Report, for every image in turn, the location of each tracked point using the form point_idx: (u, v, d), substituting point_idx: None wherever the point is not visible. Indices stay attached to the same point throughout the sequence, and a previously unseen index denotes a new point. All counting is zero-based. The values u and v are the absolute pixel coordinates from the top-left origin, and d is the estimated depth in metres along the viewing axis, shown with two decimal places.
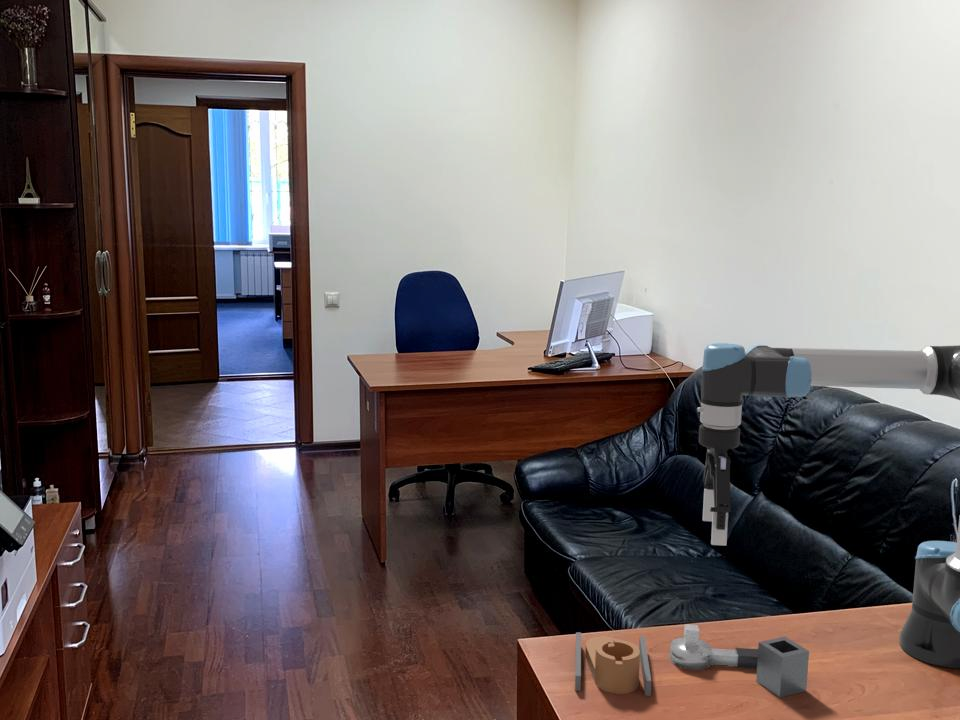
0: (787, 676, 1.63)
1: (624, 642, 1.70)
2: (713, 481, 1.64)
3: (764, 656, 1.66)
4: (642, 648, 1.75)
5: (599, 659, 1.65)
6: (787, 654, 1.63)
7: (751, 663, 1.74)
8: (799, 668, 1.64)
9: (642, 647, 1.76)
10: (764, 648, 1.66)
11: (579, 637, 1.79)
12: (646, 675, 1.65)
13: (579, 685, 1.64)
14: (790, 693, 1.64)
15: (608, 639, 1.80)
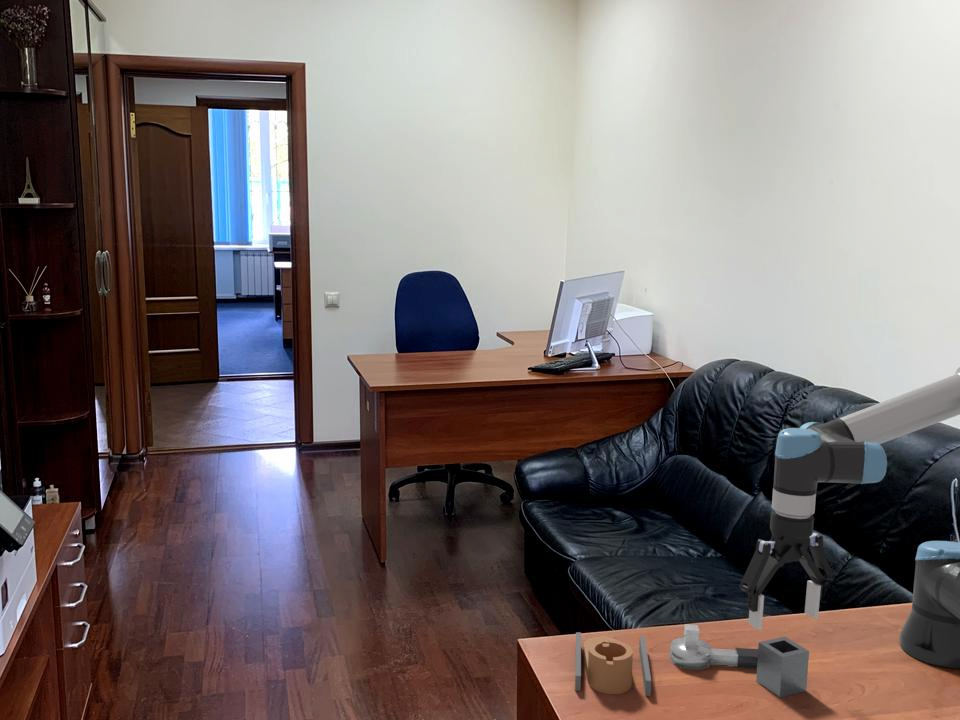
0: (787, 676, 1.63)
1: (619, 642, 1.70)
2: (766, 564, 1.63)
3: (764, 656, 1.66)
4: (642, 648, 1.75)
5: (590, 658, 1.66)
6: (787, 654, 1.63)
7: (751, 663, 1.74)
8: (799, 668, 1.64)
9: (642, 647, 1.76)
10: (764, 648, 1.66)
11: (579, 637, 1.79)
12: (646, 675, 1.65)
13: (579, 685, 1.64)
14: (790, 693, 1.64)
15: (607, 639, 1.80)
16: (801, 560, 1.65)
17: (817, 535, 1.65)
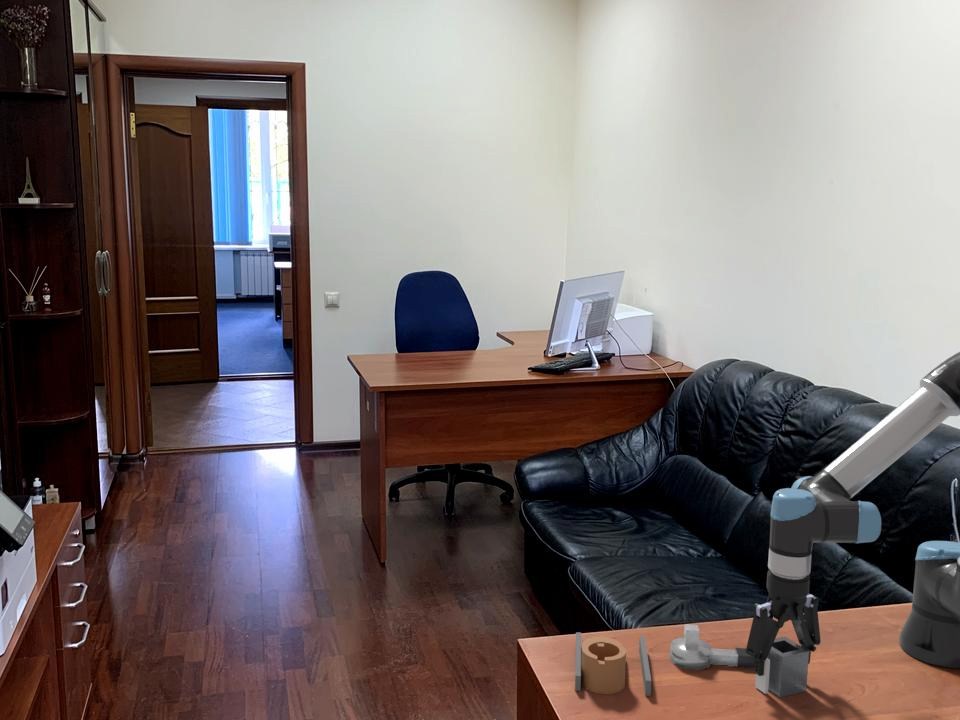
0: (787, 676, 1.63)
1: (614, 643, 1.69)
2: None
3: None
4: (642, 648, 1.75)
5: (583, 657, 1.66)
6: (787, 654, 1.63)
7: (751, 663, 1.74)
8: (799, 668, 1.64)
9: (642, 647, 1.76)
10: None
11: (579, 637, 1.79)
12: (646, 675, 1.65)
13: (579, 685, 1.64)
14: (790, 693, 1.64)
15: (607, 640, 1.80)
16: (794, 621, 1.66)
17: (814, 597, 1.66)
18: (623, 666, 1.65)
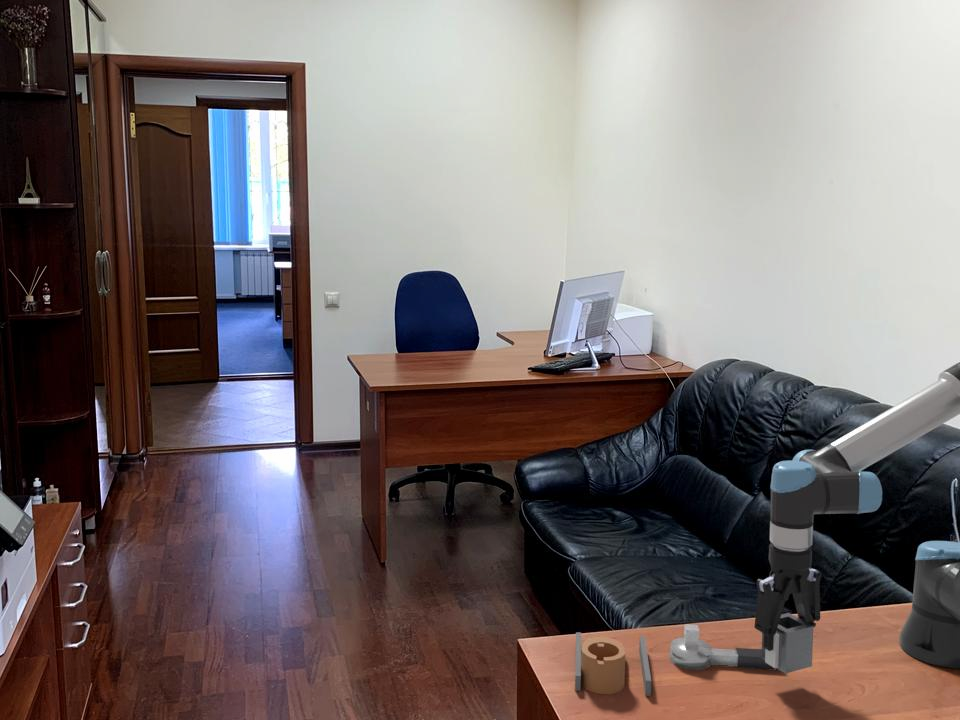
0: (792, 652, 1.62)
1: (614, 643, 1.69)
2: None
3: None
4: (642, 648, 1.75)
5: (582, 657, 1.66)
6: (791, 630, 1.62)
7: (751, 663, 1.74)
8: (804, 643, 1.63)
9: (642, 647, 1.76)
10: None
11: (579, 637, 1.79)
12: (646, 675, 1.65)
13: (579, 685, 1.64)
14: (796, 669, 1.63)
15: None
16: (796, 595, 1.65)
17: (816, 571, 1.66)
18: (622, 666, 1.65)
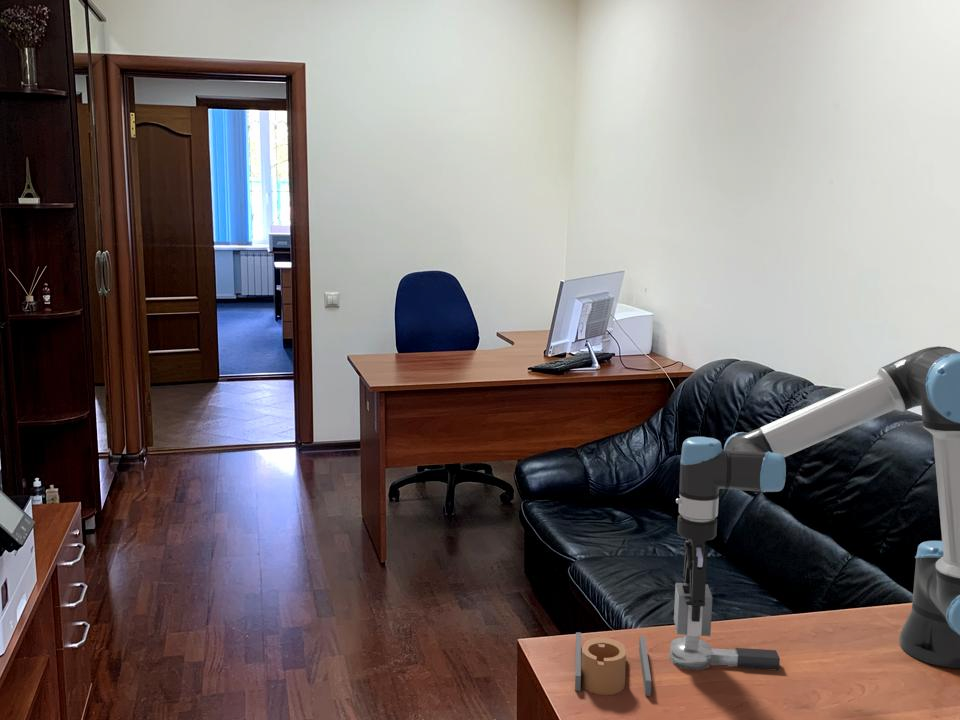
0: None
1: (614, 644, 1.69)
2: (690, 572, 1.71)
3: (687, 606, 1.72)
4: (642, 648, 1.75)
5: (582, 658, 1.66)
6: (708, 594, 1.73)
7: (751, 663, 1.74)
8: None
9: (642, 647, 1.76)
10: (687, 598, 1.72)
11: (579, 637, 1.79)
12: (646, 675, 1.65)
13: (579, 685, 1.64)
14: None
15: (609, 641, 1.79)
16: None
17: None
18: (623, 667, 1.64)
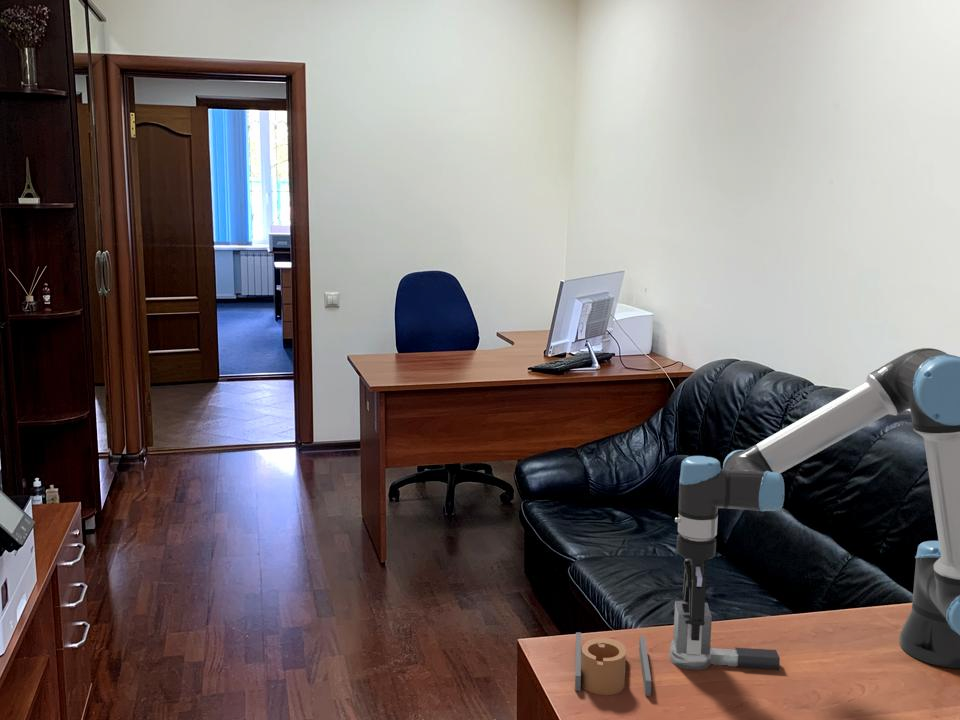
0: None
1: (614, 644, 1.69)
2: (689, 591, 1.72)
3: (687, 624, 1.72)
4: (642, 648, 1.75)
5: (582, 658, 1.66)
6: (708, 612, 1.73)
7: (751, 663, 1.74)
8: None
9: (642, 647, 1.76)
10: (687, 617, 1.72)
11: (579, 637, 1.79)
12: (646, 675, 1.65)
13: (579, 685, 1.64)
14: None
15: (610, 641, 1.79)
16: None
17: None
18: (622, 667, 1.64)
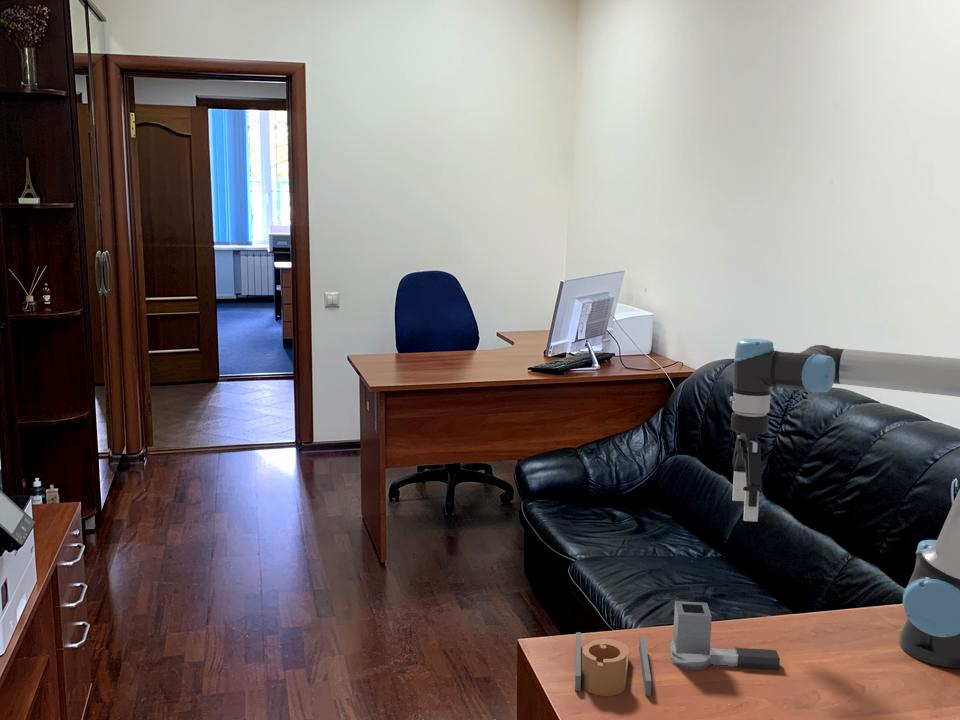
0: None
1: (616, 645, 1.68)
2: (745, 463, 1.82)
3: (687, 624, 1.72)
4: (642, 648, 1.75)
5: (583, 658, 1.66)
6: (707, 612, 1.73)
7: (751, 663, 1.74)
8: None
9: (642, 647, 1.76)
10: (686, 617, 1.72)
11: (579, 637, 1.79)
12: (646, 675, 1.65)
13: (579, 685, 1.64)
14: None
15: (614, 642, 1.78)
16: None
17: None
18: (623, 669, 1.64)
